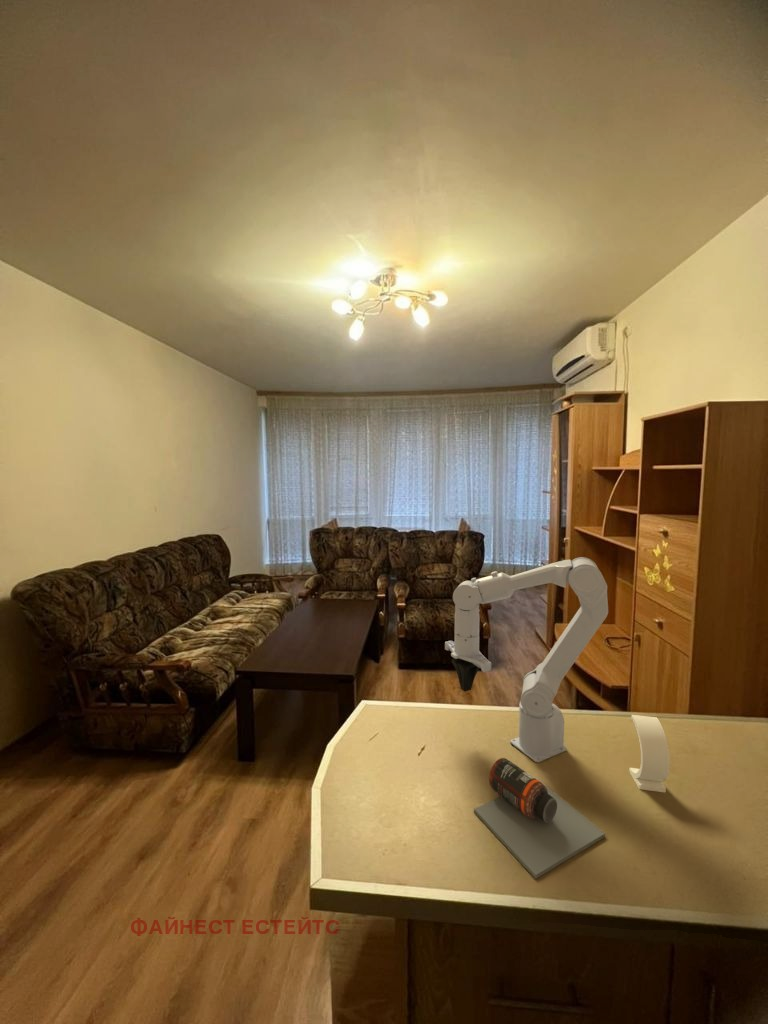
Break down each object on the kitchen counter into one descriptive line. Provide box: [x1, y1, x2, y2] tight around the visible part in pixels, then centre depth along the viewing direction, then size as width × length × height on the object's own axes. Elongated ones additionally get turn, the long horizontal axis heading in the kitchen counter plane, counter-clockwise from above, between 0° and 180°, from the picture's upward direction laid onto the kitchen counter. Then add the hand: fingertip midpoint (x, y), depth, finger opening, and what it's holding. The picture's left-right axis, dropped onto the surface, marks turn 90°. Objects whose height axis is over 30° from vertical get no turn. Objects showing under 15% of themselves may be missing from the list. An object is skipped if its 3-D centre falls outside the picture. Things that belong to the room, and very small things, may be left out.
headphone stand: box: [628, 714, 671, 793], centre depth 79 cm, size 5×6×12 cm
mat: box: [473, 779, 606, 880], centre depth 70 cm, size 16×14×1 cm
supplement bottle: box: [488, 757, 557, 823], centre depth 73 cm, size 6×6×11 cm
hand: (466, 689), depth 96 cm, fingers closed
